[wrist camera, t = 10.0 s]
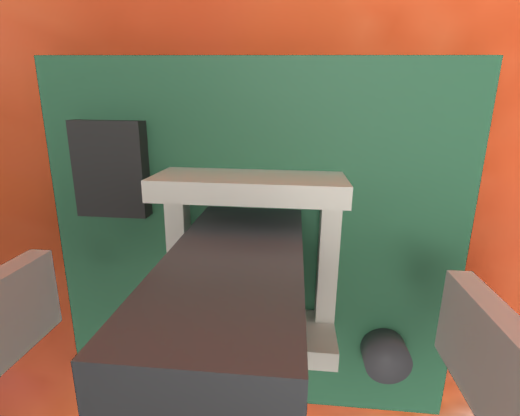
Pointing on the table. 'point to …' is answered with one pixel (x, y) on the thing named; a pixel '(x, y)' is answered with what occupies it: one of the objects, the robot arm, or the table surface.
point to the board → (281, 189)
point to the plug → (208, 326)
